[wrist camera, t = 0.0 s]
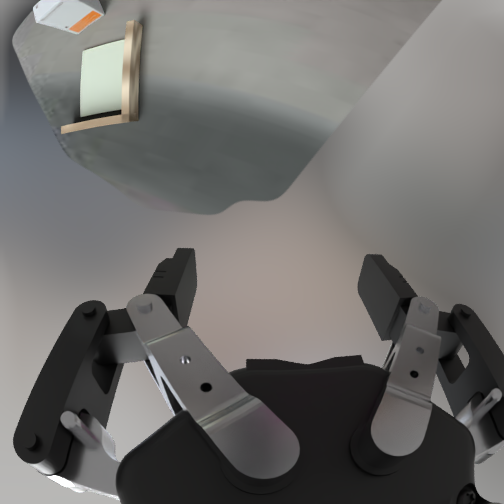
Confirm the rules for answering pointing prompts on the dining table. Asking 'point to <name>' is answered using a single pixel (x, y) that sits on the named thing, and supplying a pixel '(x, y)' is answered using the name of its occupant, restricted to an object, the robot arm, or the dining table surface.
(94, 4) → the skincare box
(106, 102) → the mat
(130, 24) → the wooden angle bracket
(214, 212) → the dining table surface
